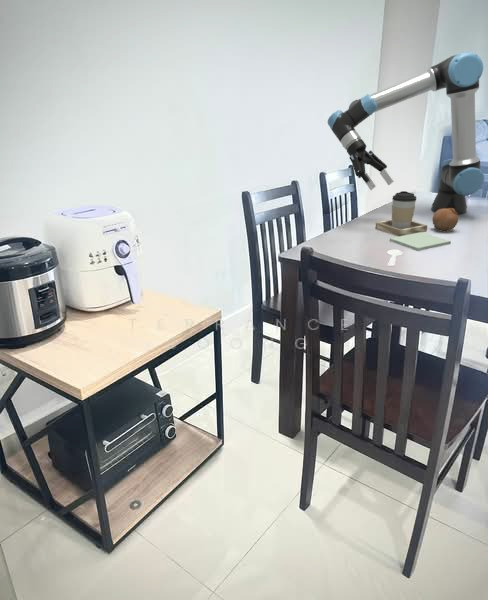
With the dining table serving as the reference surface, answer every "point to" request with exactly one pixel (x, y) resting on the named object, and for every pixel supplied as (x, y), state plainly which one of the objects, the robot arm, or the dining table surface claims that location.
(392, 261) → the spoon
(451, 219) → the onion
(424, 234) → the mat
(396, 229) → the picture frame
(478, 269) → the dining table surface
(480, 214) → the dining table surface
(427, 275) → the dining table surface
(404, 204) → the coffee cup
